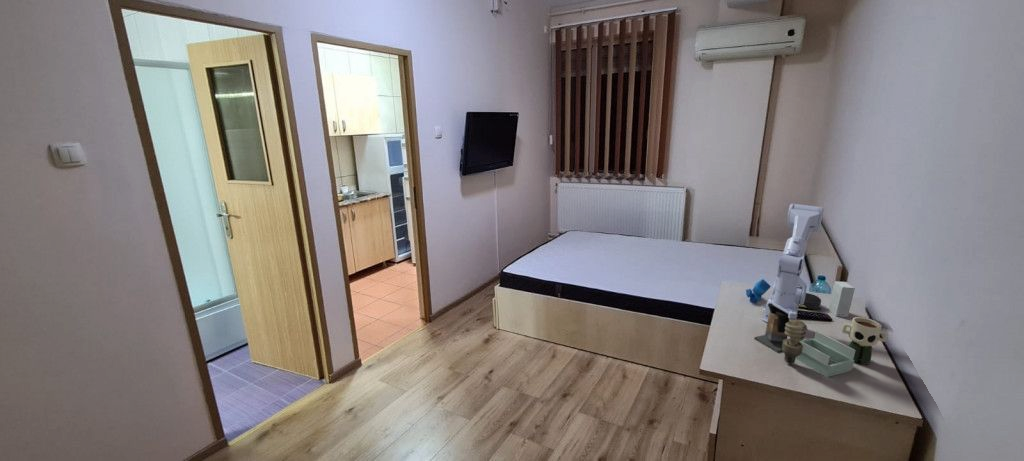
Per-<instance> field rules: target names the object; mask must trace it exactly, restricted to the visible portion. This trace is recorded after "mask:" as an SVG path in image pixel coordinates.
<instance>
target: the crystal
mask: <svg viewBox="0 0 1024 461" xmlns="http://www.w3.org/2000/svg"><path fill="white" fill-rule="evenodd" d="M770 288H771V285H770V284H769V283H768V282H767V281H766V280H765V279H764V278H763V279H760V280H758V281H757V282H756V283H755V284H754V286H753V288H752V289H751V288H749V289H746V290H745V294H746V296H747V298H749V302H750V303H754V304H757V303H758V302H759V301H761V300H762V296H763V295H765V294H766V293H767V291H768V290H770Z"/></svg>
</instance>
